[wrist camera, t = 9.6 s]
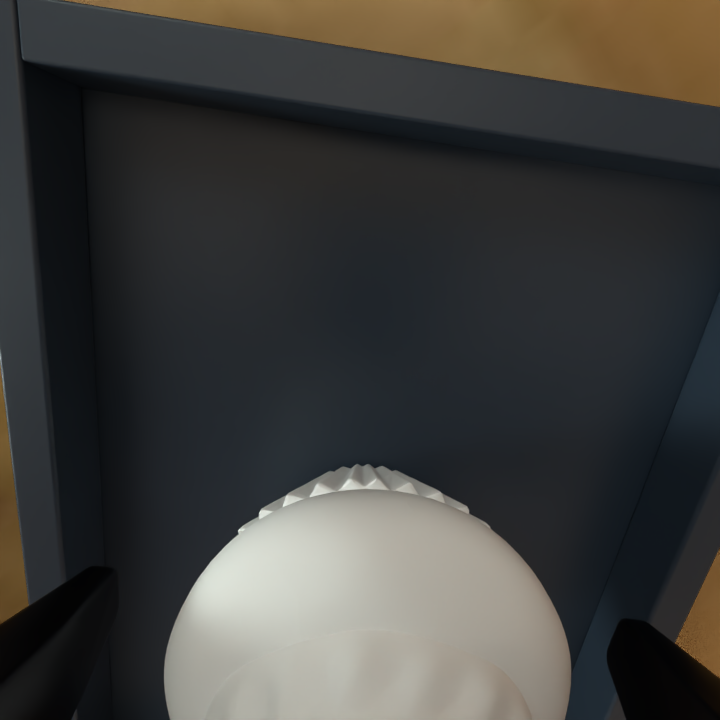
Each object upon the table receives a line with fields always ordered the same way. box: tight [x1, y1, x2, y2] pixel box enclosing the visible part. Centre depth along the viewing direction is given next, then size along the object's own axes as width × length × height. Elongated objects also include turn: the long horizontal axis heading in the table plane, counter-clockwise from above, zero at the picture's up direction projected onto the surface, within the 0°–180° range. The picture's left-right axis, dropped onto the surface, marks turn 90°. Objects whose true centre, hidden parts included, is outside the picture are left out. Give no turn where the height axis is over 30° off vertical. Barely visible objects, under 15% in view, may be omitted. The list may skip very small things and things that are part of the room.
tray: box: [0, 0, 720, 720], centre depth 10 cm, size 14×18×2 cm
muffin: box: [164, 464, 571, 720], centre depth 7 cm, size 6×6×7 cm
